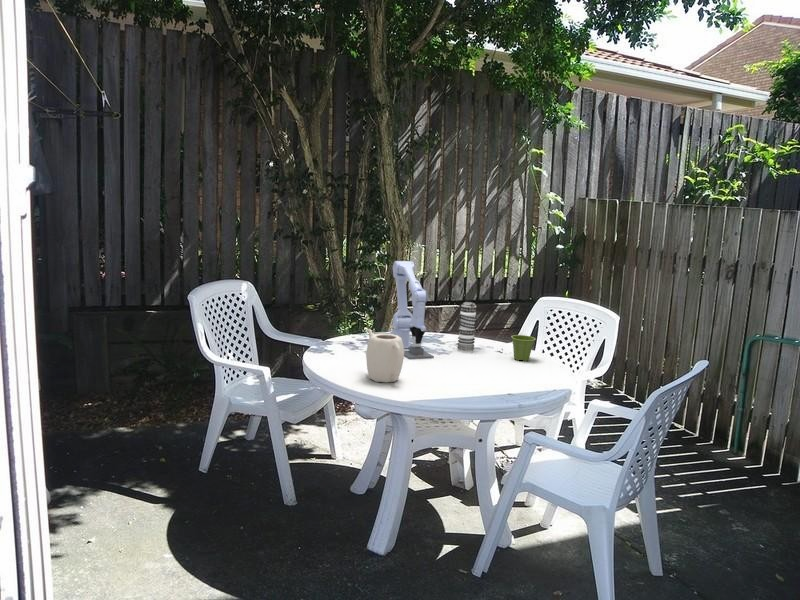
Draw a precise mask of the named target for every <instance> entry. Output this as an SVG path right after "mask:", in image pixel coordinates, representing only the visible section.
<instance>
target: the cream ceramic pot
mask: <svg viewBox="0 0 800 600" xmlns="http://www.w3.org/2000/svg"><path fill="white" fill-rule="evenodd" d="M367 332H368V337H369V340H368V343H367V346H366V352H365V357H366V358H365V360H366V369H367V373H368V374H367V375H368V378H369V379H371V380H372V381H374V382H377V383H378V382H379V383H380V382H381V383H385V384H386V383H393V382H397V380H398V379H399V377H400V374H401V373H402V368H403V365H404V364H403V363H404V358H405V356H404V351H405V349H404V345H403V342H402V338H400V337H399V336H397V335H394V334H391V333H376V334H373V331H372V329H368V330H367Z"/></svg>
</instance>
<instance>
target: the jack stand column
mask: <svg viewBox="0 0 800 600" xmlns="http://www.w3.org/2000/svg"><path fill="white" fill-rule="evenodd" d="M421 345H422V343H421V344H416V336H413V338H412V346H413V348H414V349H415V348H416V347H422V346H421Z"/></svg>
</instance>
